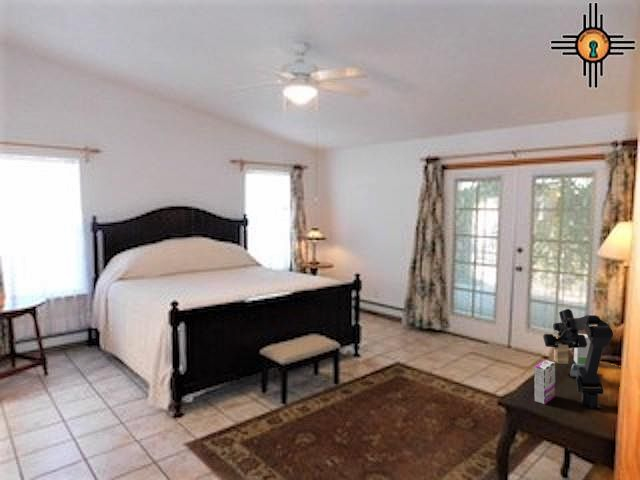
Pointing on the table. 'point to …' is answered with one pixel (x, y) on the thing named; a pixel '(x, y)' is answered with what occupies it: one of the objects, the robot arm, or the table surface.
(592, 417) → the table surface
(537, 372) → the candy bar box
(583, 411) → the table surface
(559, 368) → the table surface
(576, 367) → the tray
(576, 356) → the skincare box
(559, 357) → the oak handle block
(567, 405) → the table surface
